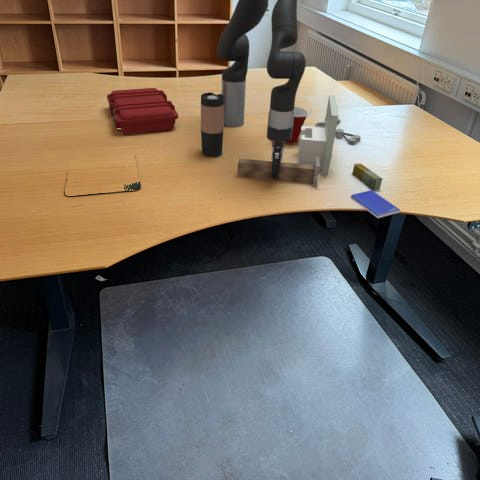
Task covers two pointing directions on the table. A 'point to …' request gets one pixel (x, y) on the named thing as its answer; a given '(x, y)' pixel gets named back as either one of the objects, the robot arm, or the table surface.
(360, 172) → the medication box
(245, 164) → the post on square base
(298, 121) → the plastic cup
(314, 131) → the grey upright panel
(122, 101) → the first aid kit
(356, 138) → the pulley system
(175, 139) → the table surface
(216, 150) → the travel mug
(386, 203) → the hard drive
